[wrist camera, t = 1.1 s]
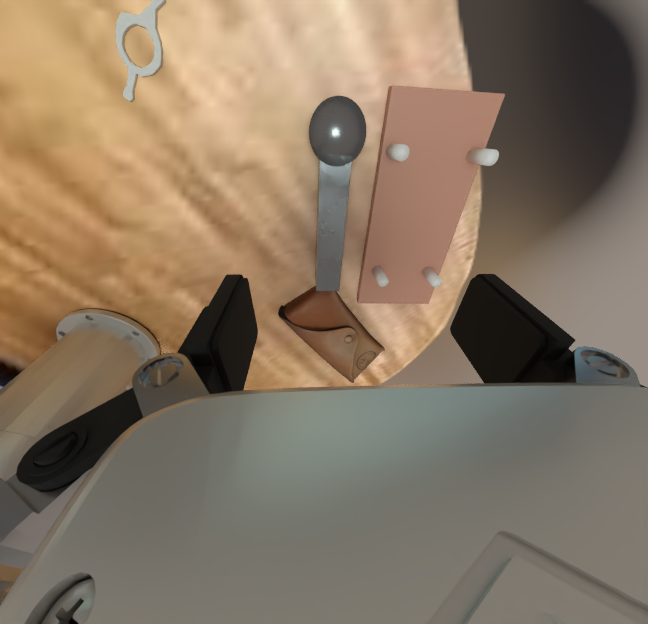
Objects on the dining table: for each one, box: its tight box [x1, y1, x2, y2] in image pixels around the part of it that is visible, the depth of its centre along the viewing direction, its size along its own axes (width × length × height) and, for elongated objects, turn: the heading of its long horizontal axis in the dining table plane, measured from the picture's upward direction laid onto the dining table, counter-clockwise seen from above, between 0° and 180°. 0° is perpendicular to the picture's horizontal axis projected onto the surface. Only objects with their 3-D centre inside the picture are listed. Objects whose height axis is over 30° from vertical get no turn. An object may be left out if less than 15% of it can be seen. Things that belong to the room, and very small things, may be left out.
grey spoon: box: [309, 96, 366, 291], centre depth 26 cm, size 18×5×3 cm, turn 177°
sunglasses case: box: [278, 286, 385, 383], centre depth 37 cm, size 18×7×7 cm, turn 37°
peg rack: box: [357, 86, 505, 304], centre depth 26 cm, size 22×10×4 cm, turn 177°
